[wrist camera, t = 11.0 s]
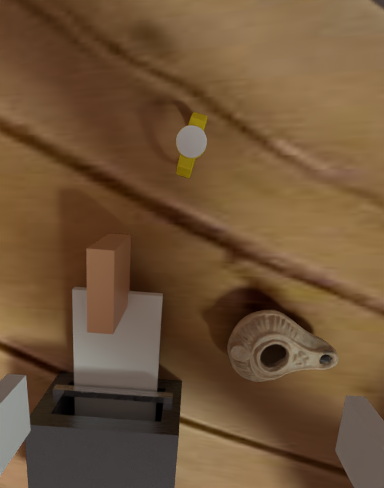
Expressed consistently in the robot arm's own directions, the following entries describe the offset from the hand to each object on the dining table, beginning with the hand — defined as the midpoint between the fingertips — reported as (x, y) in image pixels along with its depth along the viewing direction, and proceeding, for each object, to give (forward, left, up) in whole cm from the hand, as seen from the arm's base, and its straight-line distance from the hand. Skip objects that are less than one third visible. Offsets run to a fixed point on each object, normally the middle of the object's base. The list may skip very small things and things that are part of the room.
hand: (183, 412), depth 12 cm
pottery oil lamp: (-11, +10, -22) cm, 27 cm away
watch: (+1, -12, -22) cm, 25 cm away
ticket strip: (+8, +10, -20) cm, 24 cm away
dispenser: (+8, +26, -22) cm, 35 cm away
